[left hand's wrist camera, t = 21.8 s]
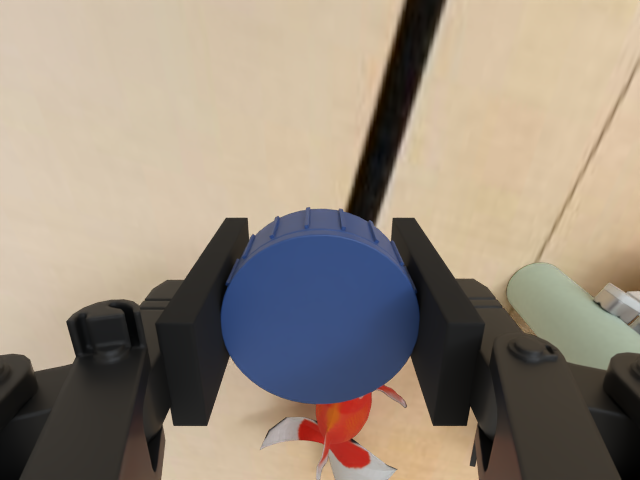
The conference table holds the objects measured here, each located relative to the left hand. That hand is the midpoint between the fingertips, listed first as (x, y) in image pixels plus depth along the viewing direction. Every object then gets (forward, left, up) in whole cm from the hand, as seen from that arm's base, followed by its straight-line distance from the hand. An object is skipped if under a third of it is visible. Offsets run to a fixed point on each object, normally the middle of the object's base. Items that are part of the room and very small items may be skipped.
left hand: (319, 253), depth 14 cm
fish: (+17, -12, -15) cm, 26 cm away
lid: (0, 0, +4) cm, 4 cm away
